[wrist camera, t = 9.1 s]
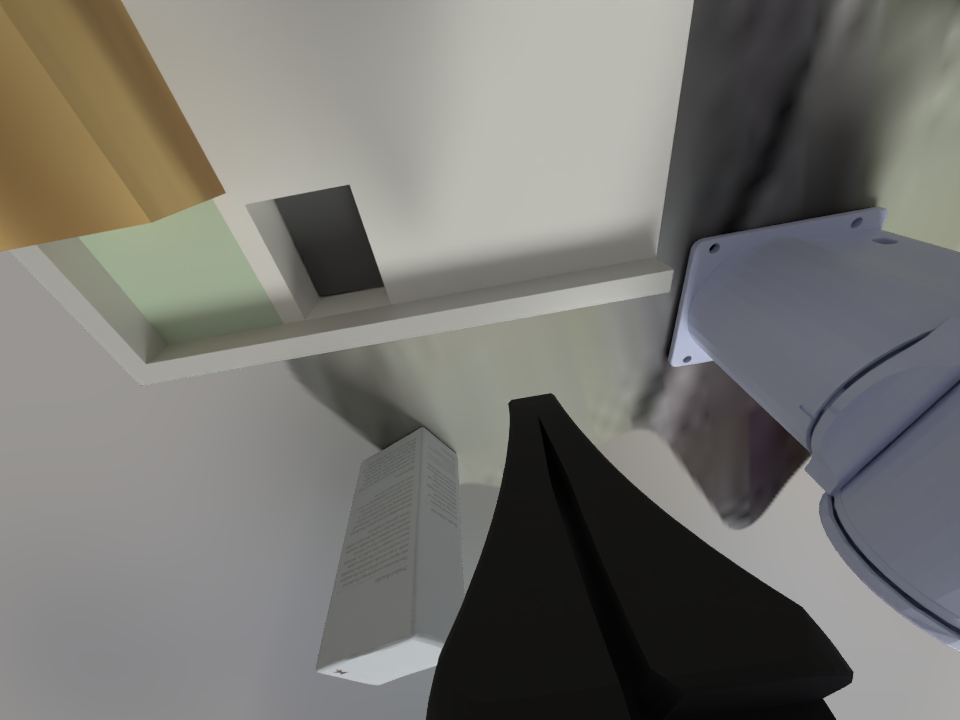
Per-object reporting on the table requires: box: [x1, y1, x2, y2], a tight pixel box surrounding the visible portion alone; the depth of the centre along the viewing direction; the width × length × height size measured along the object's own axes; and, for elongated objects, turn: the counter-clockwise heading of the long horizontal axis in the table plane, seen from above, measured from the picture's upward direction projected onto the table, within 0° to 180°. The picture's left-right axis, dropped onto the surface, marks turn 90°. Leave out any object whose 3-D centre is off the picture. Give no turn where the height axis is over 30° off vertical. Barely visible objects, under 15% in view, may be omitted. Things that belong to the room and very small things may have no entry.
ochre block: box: [0, 0, 226, 252], centre depth 10 cm, size 5×5×4 cm
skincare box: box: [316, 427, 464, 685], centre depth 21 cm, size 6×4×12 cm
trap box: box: [9, 0, 694, 386], centre depth 11 cm, size 24×18×4 cm
